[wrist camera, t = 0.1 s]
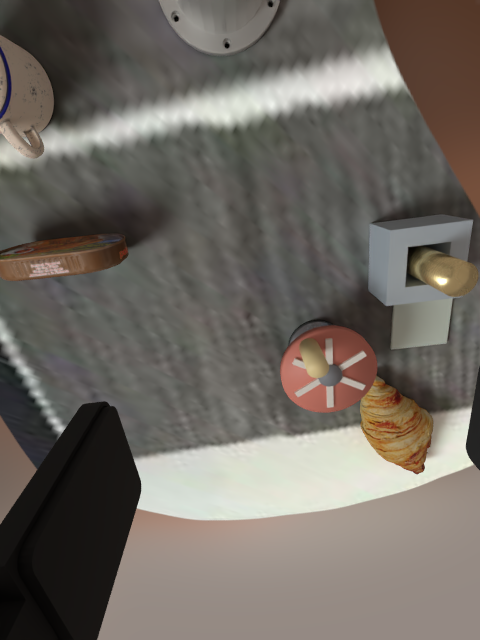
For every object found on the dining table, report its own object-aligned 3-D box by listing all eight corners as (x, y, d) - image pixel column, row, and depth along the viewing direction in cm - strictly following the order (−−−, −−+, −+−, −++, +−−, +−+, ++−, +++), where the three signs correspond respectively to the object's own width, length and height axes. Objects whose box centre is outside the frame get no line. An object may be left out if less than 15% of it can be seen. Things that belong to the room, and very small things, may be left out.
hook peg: (390, 242, 43) (443, 264, 32) (418, 238, 43) (481, 259, 32) (389, 268, 45) (439, 299, 34) (416, 265, 45) (475, 294, 34)
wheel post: (286, 323, 48) (293, 342, 42) (342, 316, 48) (356, 335, 42) (290, 371, 51) (296, 394, 45) (342, 365, 51) (356, 388, 45)
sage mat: (393, 297, 46) (394, 298, 46) (451, 290, 46) (453, 291, 46) (390, 348, 50) (391, 349, 49) (445, 342, 49) (446, 343, 49)
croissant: (342, 367, 55) (332, 403, 49) (407, 355, 49) (404, 395, 43) (391, 452, 62) (387, 493, 56) (453, 452, 56) (456, 497, 50)
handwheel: (276, 331, 41) (283, 357, 35) (374, 319, 41) (398, 344, 35) (283, 409, 46) (290, 444, 40) (371, 400, 46) (391, 433, 40)
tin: (133, 230, 43) (110, 242, 35) (138, 255, 44) (117, 272, 36) (17, 242, 43) (-31, 257, 35) (26, 266, 44) (-19, 285, 36)
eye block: (370, 223, 42) (390, 230, 37) (442, 214, 42) (473, 219, 37) (368, 290, 46) (386, 306, 40) (434, 282, 46) (461, 297, 40)
